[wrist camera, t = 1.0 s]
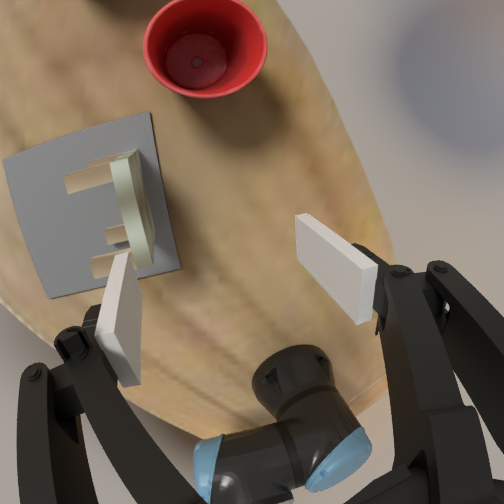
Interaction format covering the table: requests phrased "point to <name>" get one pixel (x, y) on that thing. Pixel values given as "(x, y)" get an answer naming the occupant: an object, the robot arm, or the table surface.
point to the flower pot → (205, 47)
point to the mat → (84, 204)
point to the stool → (121, 208)
